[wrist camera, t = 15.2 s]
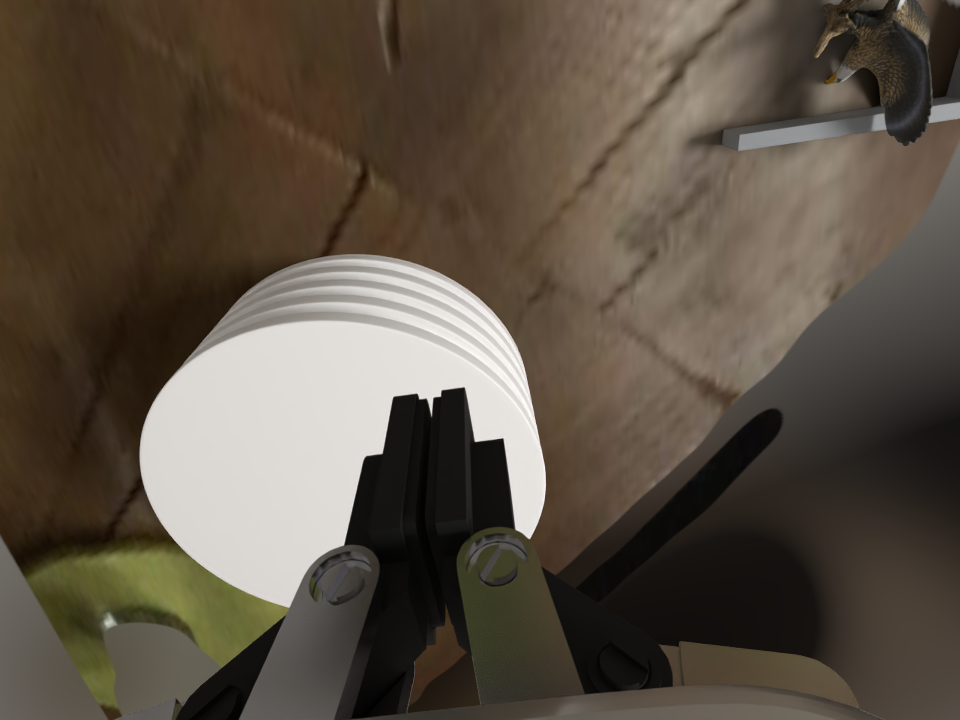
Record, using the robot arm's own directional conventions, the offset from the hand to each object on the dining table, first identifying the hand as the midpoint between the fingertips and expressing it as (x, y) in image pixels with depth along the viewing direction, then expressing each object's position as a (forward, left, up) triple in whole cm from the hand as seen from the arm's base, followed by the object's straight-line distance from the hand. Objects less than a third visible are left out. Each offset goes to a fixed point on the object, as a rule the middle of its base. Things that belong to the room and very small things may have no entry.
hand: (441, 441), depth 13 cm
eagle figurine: (-4, +27, -29) cm, 40 cm away
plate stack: (+18, -10, -30) cm, 36 cm away
